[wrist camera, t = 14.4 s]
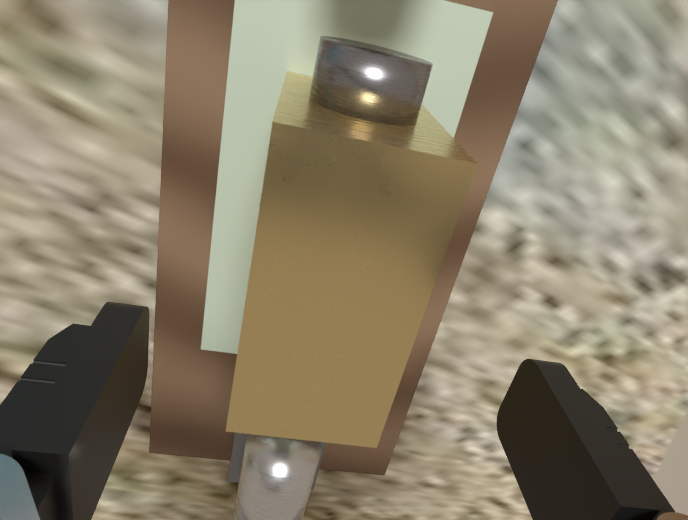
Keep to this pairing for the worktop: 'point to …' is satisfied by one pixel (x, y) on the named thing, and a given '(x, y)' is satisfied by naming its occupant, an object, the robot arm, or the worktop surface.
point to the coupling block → (344, 246)
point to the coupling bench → (246, 189)
